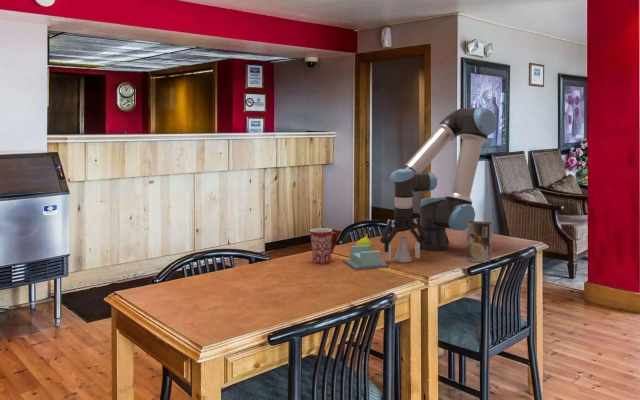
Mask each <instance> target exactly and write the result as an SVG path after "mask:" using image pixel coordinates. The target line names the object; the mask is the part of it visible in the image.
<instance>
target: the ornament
mask: <svg viewBox="0 0 640 400" xmlns="http://www.w3.org/2000/svg"><path fill="white" fill-rule="evenodd" d="M368 235H369V233H368V231H367V233H366V234H365V237H362V238H360V239H359V240H358V241H357V242H356V244H355V246H363V245H370V251H373V243H372V241H371V240H370V238H369V237H368Z"/></svg>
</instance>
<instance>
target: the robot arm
mask: <svg viewBox="0 0 640 400" xmlns="http://www.w3.org/2000/svg"><path fill="white" fill-rule="evenodd" d="M496 128H497V117H496V116H495V113H494V112H493V111H492V110H491V109H490V108H488V107H481V106H479V107H467V108H464V107H463V108H462V107H461V108H458V109H456V110H454V111H452V112H450V113H449V114H448V115H446V116H445V117H444V118H443V119H442V120H441V121H440V122H439V124H438V125H436V129H435V131H434V133H432V135H431V136H429V138H428V139H427V141H425V142H424V143H423V145H421V147H420V148H419V149H418V150H417V151H416V152H415V154H413V156H412V157H411V158H410V159H409V160H408V161H407V162H406V163H405V164H404V166H403V167H402V168H398V169H396V170H394V171H393V172H392V173H391V174H390V176H389V183H390V184H391V186H393V187H394V206H395V207H394V210H393V211H394V213H393V216H394V219H387V220H386V225H385V227H384V230H383V233H382V235H381V238H380V239H379V242H380V243H382V244H384V252H385V253H386V258H385V259H386V260H387V261H391V260H392V259H391V256H392V254H391V253H392V252H391V251H392V248H391V247H392V244H390V243H391V242H392V240H393V239H394V237H395V236H396V235H397V233H398V232H399V231H405V230H407V231H408V230H409V232H410V233H411V234H412V236H413V237H414V239H416V241H415V242H414V243H415V245H414V247H415V249H414V257H415V258H416V259H420V258H421V257H420V255H421V250H423V251H432V252H433V251H438V252H439V251H446V250H449V249H450V240H449V237H448V234H447V229H450V230H453V231H465V230H467V225H468V222H469V221H475V218H476V212H475V208H474V207H473V206H472V205H473V201H472V199H471V194H472V190H473V186H474V182H475V181H474V180H475V178H476V177H475V176H476V173H477V172H476V171H477V169H478V164H479V160H480V155H481V151H482V146H483V145H484V143H486V142H488V138H489V136H491V135H492V134H493V133H494V132H495V131H496ZM457 137H460V138H461V144H460V150H459V153H458V159H457V162H456V166H455V170H454V174H453V179H452V182H451V188H450V192H449V193H448V194H447V195H445V196H440V197H437V196H436V197H426V198H422V199H421V200H420V206H419V218H418V217H415V218H413V217H414V208H413V207H414V193H415V192H429V191H434V190H435V189H436V188H437V186H438V178H437V176H436V174H435V173H433V172H423V171H424V170H425V169H426V168H427V167H428V166H429V164H430V163H431V162H432V161H433V160H434V159H435V158H436V157H437V156H438V155H439V154H440V152H441V151H442V150H444V148H445V147H446V146H447V145H448V144H449V142H452V141H454V140H455V138H457ZM413 224H415V227H416V229H417V231H416V230H415V228H414V227H413ZM393 225H394V226H393ZM392 226H393V228H392Z"/></svg>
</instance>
